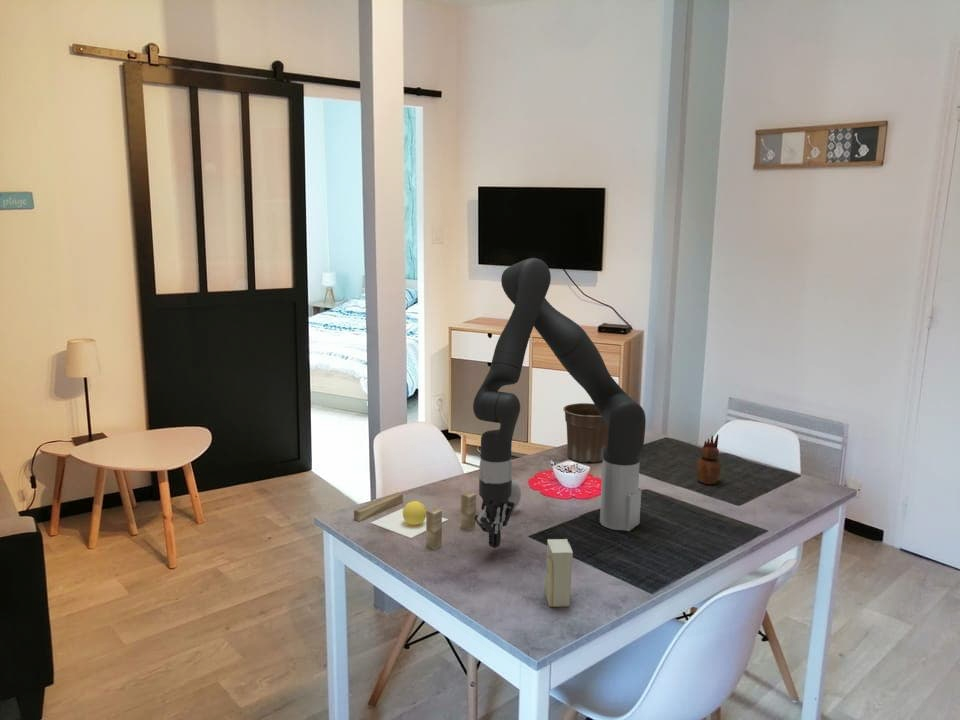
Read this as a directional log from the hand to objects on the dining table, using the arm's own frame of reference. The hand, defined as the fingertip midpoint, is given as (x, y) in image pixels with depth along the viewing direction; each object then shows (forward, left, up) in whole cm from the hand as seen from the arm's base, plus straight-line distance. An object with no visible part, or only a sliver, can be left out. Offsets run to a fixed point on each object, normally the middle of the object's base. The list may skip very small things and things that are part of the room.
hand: (494, 546), depth 176 cm
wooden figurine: (-22, -76, -2) cm, 79 cm away
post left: (+13, +6, -2) cm, 15 cm away
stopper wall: (+38, 0, -2) cm, 38 cm away
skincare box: (-23, +9, -2) cm, 25 cm away
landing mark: (+27, 0, -2) cm, 27 cm away
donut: (+11, -19, -2) cm, 22 cm away
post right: (+13, -7, -2) cm, 15 cm away
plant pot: (+17, -73, -2) cm, 75 cm away
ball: (+25, 0, +2) cm, 25 cm away
